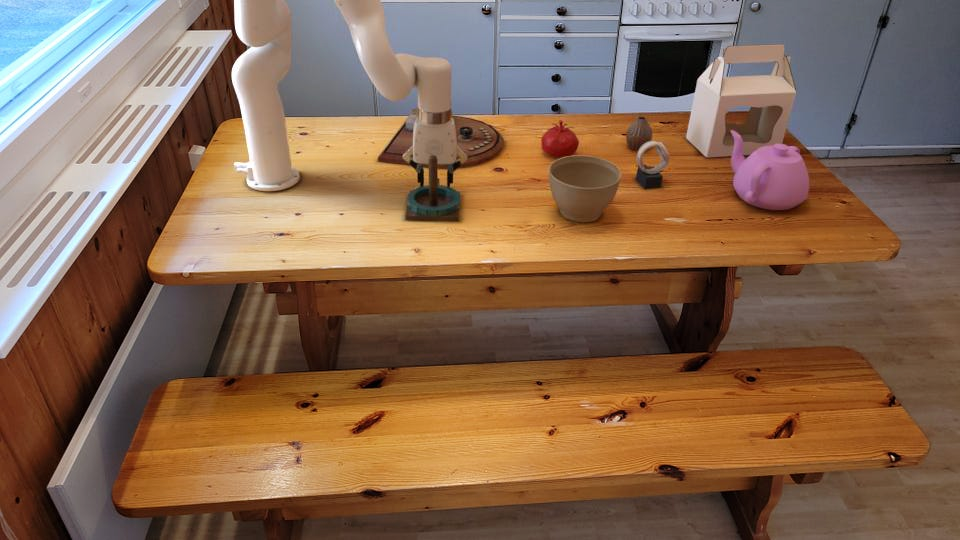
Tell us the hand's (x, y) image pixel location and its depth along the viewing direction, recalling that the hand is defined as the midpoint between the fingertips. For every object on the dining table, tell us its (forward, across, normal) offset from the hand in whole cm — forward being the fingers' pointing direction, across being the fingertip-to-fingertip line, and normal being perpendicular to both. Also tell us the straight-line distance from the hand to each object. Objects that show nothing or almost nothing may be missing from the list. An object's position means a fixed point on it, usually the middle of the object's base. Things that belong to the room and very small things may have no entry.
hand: (435, 184), depth 171 cm
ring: (0, 0, -7) cm, 7 cm away
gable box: (+2, +81, +31) cm, 87 cm away
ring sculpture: (+2, +53, +7) cm, 53 cm away
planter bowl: (+2, +34, -9) cm, 35 cm away
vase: (+2, +54, +28) cm, 61 cm away
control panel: (+2, +2, +28) cm, 28 cm away
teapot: (+2, +79, +2) cm, 79 cm away
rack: (+2, 0, -8) cm, 8 cm away
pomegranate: (+2, +32, +23) cm, 39 cm away
